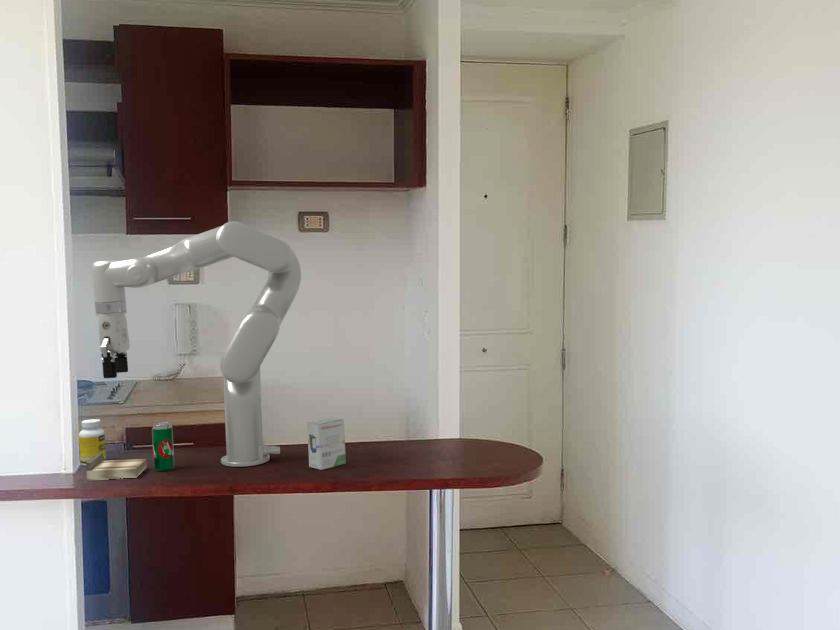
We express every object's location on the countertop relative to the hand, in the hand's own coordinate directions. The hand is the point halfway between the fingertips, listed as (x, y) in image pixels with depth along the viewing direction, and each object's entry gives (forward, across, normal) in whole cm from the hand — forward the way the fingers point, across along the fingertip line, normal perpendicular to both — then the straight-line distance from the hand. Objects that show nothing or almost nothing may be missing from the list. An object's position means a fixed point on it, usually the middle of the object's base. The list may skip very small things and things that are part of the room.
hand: (116, 375), depth 225 cm
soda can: (+25, -2, -11) cm, 27 cm away
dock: (+25, -5, 0) cm, 25 cm away
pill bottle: (+25, +8, +10) cm, 28 cm away
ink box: (+26, -5, -53) cm, 59 cm away
